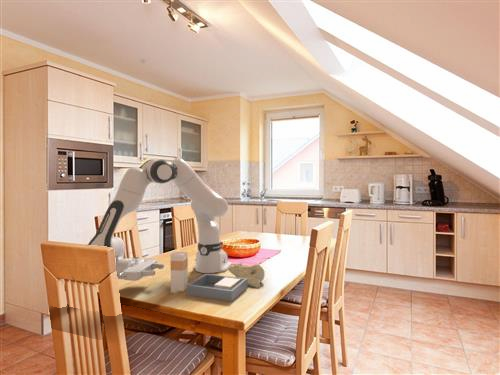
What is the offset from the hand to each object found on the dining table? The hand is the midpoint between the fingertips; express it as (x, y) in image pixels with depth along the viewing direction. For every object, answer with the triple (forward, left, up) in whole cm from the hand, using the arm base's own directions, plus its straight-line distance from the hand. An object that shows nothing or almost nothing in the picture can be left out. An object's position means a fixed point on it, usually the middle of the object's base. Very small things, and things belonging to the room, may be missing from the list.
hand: (159, 269), depth 135 cm
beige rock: (-18, +32, -9) cm, 38 cm away
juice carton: (-2, +9, -9) cm, 13 cm away
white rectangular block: (-5, +30, -8) cm, 32 cm away
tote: (-5, +26, -9) cm, 28 cm away
